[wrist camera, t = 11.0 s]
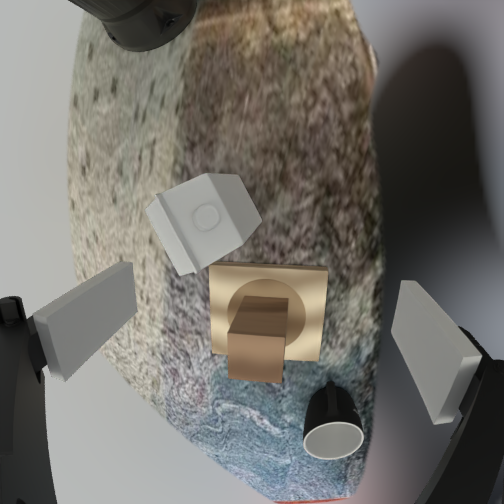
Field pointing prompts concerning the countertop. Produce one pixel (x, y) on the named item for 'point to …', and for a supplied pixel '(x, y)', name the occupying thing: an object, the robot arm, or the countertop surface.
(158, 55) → the countertop surface
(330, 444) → the mug
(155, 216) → the milk carton
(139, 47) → the robot arm
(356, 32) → the countertop surface
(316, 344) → the board
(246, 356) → the block
